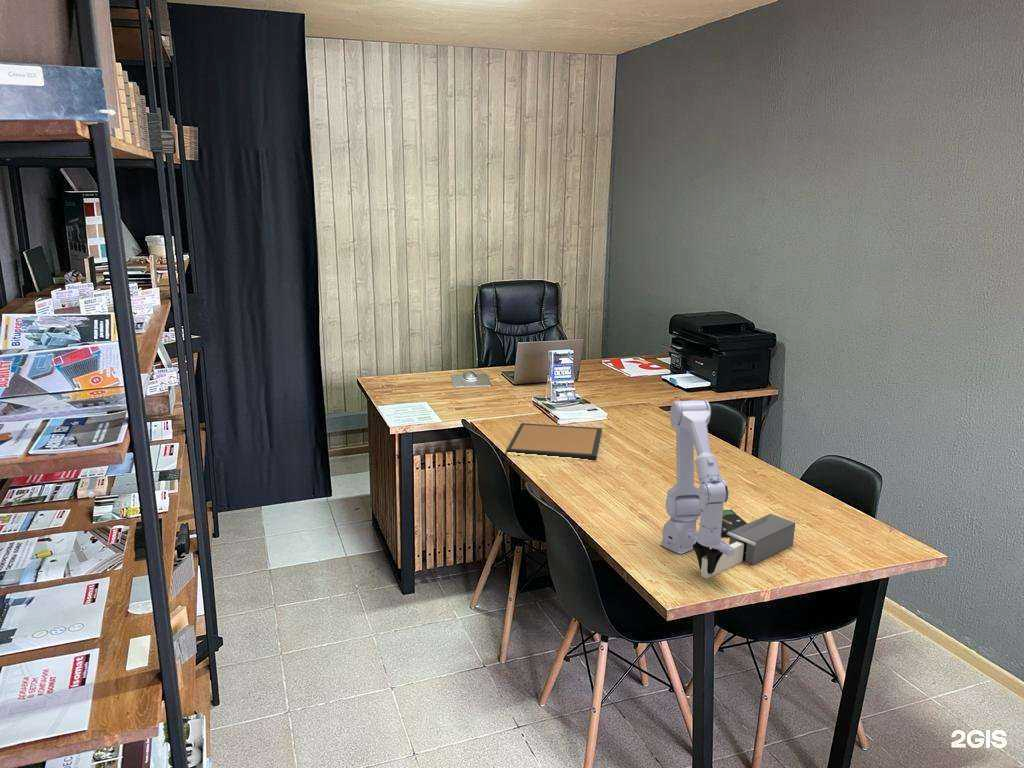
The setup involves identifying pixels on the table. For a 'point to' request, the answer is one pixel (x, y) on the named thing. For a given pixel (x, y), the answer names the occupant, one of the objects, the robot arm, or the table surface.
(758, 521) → the dispenser
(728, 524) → the disk drive
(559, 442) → the cork board
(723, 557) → the cream rectangular block
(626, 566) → the table surface
